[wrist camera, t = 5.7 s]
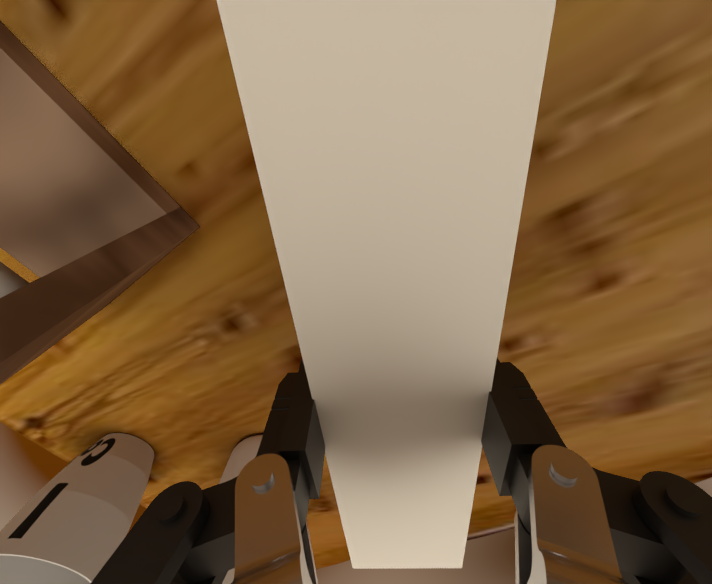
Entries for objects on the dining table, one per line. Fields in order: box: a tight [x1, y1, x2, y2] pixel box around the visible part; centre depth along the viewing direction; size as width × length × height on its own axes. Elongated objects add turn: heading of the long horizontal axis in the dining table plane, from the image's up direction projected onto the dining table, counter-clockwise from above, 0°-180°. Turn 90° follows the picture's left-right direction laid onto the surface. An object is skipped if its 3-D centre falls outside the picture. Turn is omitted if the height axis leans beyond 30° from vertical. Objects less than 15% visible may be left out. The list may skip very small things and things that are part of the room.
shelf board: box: [217, 0, 556, 568], centre depth 11 cm, size 21×5×3 cm, turn 6°
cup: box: [0, 433, 154, 584], centre depth 27 cm, size 8×8×10 cm
